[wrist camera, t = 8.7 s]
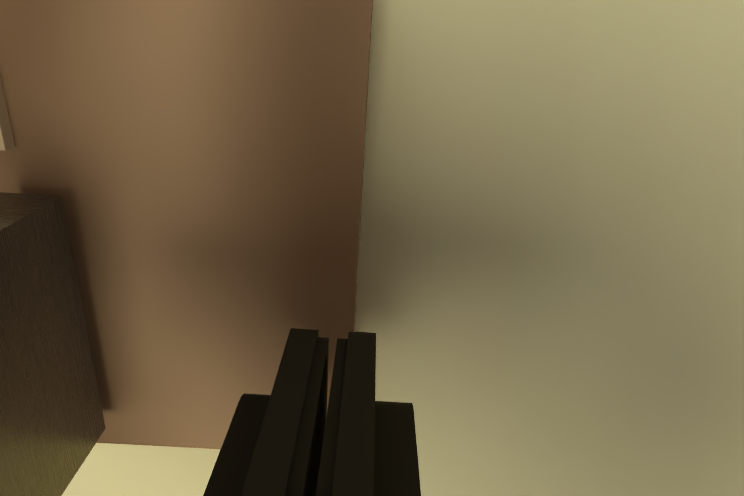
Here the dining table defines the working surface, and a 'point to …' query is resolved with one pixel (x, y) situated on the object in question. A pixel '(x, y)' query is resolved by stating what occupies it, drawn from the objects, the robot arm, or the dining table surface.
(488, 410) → the dining table surface
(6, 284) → the grey rod with block
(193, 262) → the base
